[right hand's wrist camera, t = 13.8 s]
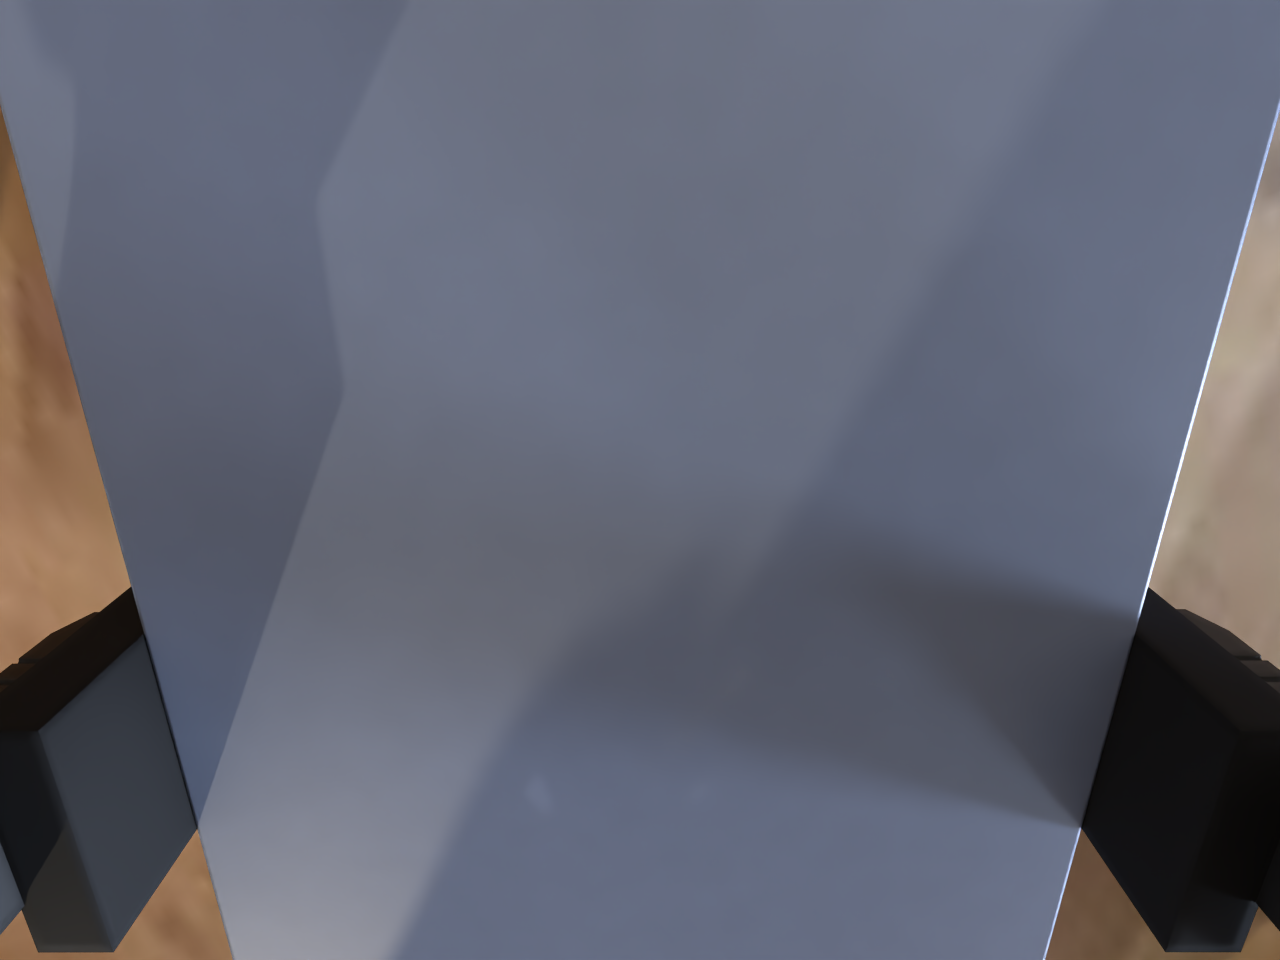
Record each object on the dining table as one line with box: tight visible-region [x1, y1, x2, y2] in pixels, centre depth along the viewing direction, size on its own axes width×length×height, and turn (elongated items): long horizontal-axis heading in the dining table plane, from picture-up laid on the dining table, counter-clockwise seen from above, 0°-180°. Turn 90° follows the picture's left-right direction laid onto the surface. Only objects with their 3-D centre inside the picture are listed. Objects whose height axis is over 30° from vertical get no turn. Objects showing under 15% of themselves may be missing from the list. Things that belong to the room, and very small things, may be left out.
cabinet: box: [0, 0, 1280, 960], centre depth 12 cm, size 18×10×11 cm, turn 0°
